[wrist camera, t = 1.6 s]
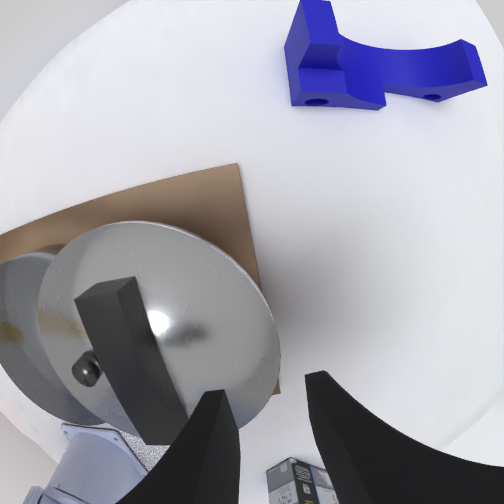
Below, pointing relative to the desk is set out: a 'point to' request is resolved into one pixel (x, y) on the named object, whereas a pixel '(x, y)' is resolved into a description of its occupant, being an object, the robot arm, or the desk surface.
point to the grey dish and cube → (33, 338)
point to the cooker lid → (156, 328)
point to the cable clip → (369, 66)
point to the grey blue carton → (299, 484)
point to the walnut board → (155, 216)
